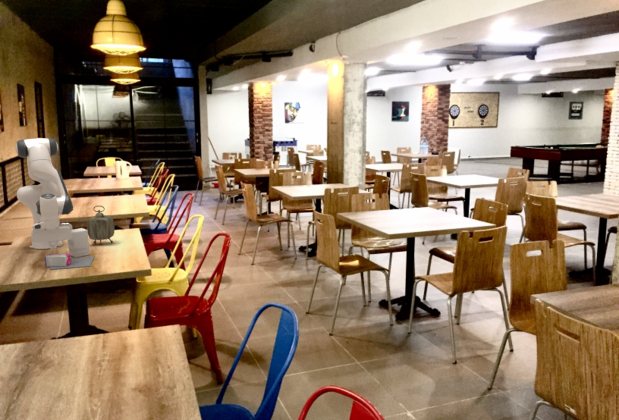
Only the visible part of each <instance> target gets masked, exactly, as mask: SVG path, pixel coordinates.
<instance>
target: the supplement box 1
mask: <svg viewBox="0 0 619 420" xmlns="http://www.w3.org/2000/svg"><path fill="white" fill-rule="evenodd" d="M71 258H72V256H71V255H70V254H69V253H49V254H47V255H45V256H44V262H45V267H52V266H68V265H69V264H71Z"/></svg>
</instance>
